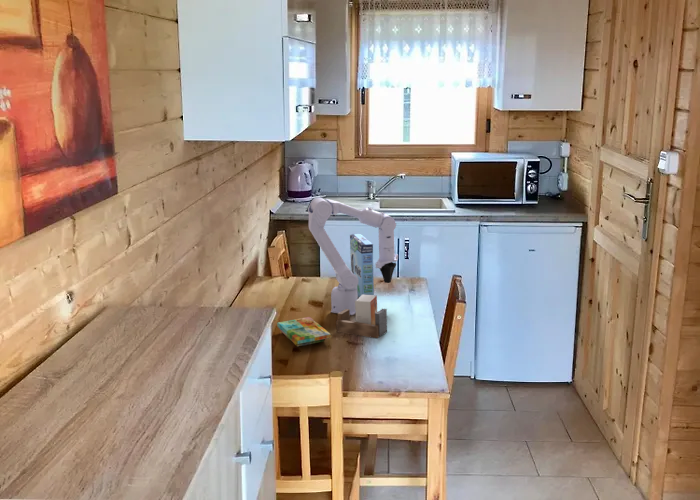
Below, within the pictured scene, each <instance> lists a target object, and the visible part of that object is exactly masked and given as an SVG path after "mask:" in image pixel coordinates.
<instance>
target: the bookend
mask: <svg viewBox="0 0 700 500" xmlns="http://www.w3.org/2000/svg"><path fill="white" fill-rule="evenodd" d="M387 311H388V309H387V308H381V309H380V310H377V313H375V325H379V337H378V338H380V337H382V336H383V335H385V334H386V333H388V314H387Z"/></svg>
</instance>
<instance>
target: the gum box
mask: <svg viewBox="0 0 700 500" xmlns="http://www.w3.org/2000/svg"><path fill="white" fill-rule="evenodd" d="M349 241H350V242H349V245H350V246H349V249H350V251H349V254H350V270H351V272H352V273H353V274H355V275H356V276H357V277H358V281H359V282H358V285H357V294H358V298H359V297H360V296H361V295H375V291H374V290H375V289H374V288H375V286H374V285H375V284H374V281H375V280H374V244H373V242H371V241H370V240H368V239H367V238H366V237H365V236H364V235H362V234H361V233H355V234H354V233H352V234H349Z"/></svg>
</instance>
